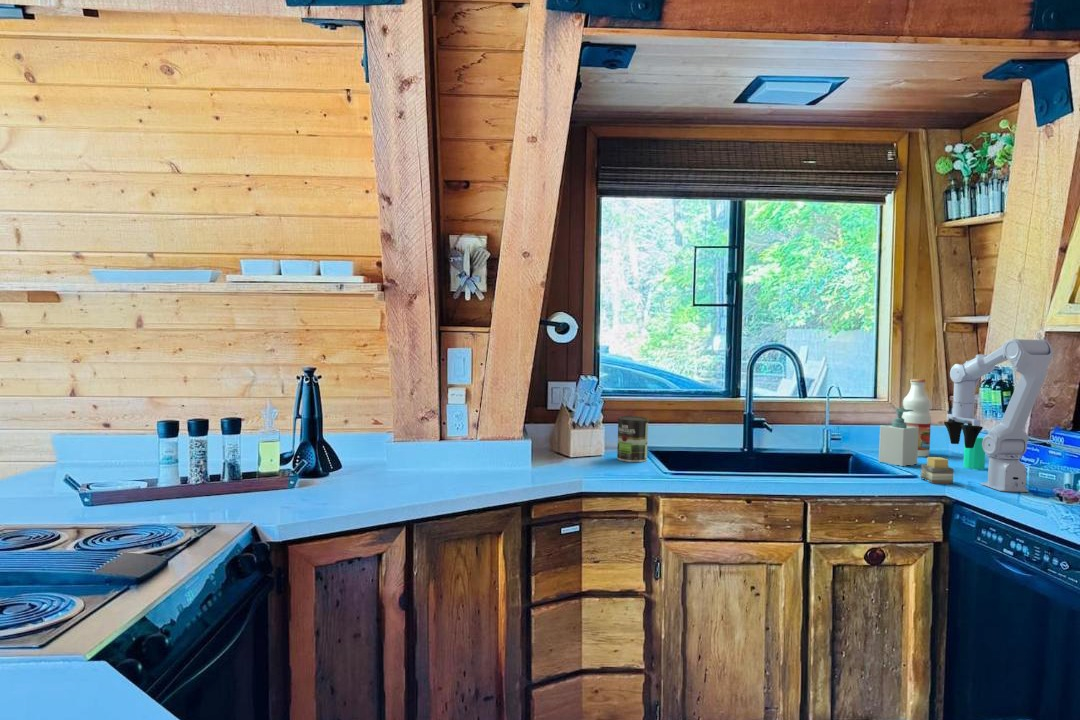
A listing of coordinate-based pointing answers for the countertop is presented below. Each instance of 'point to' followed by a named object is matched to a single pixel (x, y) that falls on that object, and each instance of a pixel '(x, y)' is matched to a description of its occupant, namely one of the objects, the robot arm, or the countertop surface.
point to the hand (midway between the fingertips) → (961, 445)
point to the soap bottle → (898, 442)
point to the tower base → (937, 474)
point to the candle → (974, 455)
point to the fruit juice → (919, 414)
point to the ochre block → (937, 462)
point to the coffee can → (632, 439)
